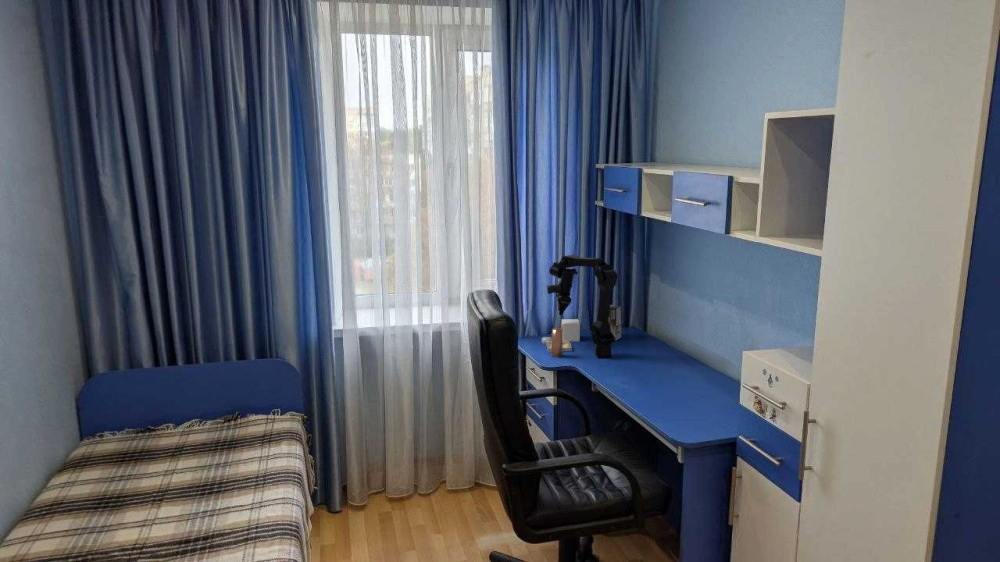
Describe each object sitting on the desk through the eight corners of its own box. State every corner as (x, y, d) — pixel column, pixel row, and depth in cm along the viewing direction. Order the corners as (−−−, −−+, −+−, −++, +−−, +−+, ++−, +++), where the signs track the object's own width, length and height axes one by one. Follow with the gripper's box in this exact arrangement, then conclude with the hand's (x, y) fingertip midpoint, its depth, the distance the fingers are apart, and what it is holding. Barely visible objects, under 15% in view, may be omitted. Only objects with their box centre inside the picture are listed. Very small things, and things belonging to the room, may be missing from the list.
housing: (577, 336, 336) (577, 319, 334) (579, 341, 328) (579, 323, 327) (560, 336, 336) (560, 319, 334) (562, 341, 328) (562, 323, 327)
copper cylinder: (561, 354, 308) (562, 327, 306) (562, 357, 303) (563, 330, 301) (551, 354, 308) (551, 327, 306) (552, 357, 303) (552, 330, 301)
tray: (569, 344, 323) (569, 341, 323) (571, 351, 312) (572, 347, 312) (546, 344, 323) (546, 341, 323) (548, 351, 312) (548, 348, 312)
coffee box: (621, 337, 334) (622, 305, 331) (616, 340, 329) (616, 308, 326) (604, 334, 339) (605, 303, 336) (599, 337, 334) (599, 306, 331)
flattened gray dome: (551, 341, 329) (551, 336, 328) (552, 344, 324) (552, 339, 323) (541, 341, 329) (541, 336, 328) (542, 344, 324) (542, 339, 323)
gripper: (549, 274, 327) (542, 305, 330) (550, 281, 309) (543, 314, 312) (571, 278, 327) (564, 309, 330) (574, 286, 309) (567, 318, 312)
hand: (559, 312), depth 321 cm, fingers open, 9 cm apart
